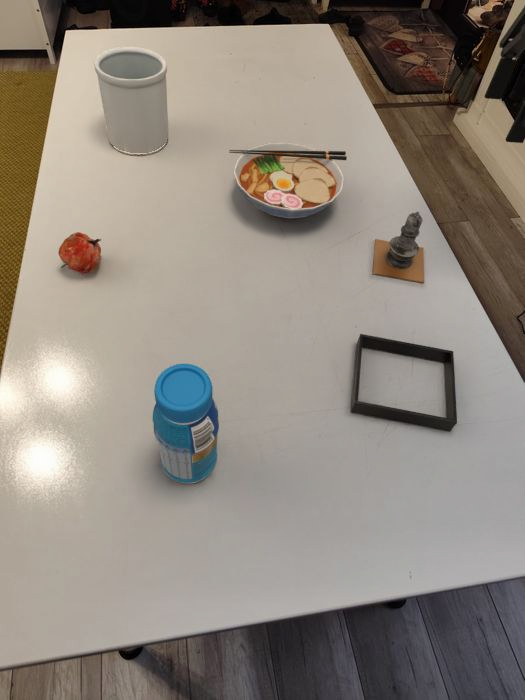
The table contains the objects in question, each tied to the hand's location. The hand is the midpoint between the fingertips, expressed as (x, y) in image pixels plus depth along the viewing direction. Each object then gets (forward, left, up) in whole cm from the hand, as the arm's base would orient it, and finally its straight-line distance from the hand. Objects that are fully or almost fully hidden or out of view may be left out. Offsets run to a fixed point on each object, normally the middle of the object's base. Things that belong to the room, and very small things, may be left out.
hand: (502, 118), depth 89 cm
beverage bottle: (+40, +60, -27) cm, 77 cm away
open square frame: (+9, +40, -27) cm, 49 cm away
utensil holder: (+72, -16, -27) cm, 78 cm away
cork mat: (+10, +10, -27) cm, 30 cm away
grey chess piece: (+10, +10, -26) cm, 30 cm away
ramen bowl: (+35, -2, -27) cm, 44 cm away
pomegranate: (+69, +27, -27) cm, 79 cm away
